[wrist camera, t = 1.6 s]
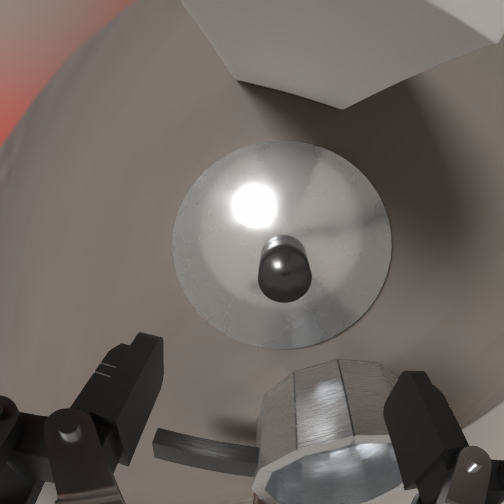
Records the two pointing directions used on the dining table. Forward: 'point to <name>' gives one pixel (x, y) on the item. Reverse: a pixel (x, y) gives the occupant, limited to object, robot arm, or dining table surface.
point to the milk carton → (343, 41)
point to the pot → (309, 439)
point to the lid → (282, 244)
